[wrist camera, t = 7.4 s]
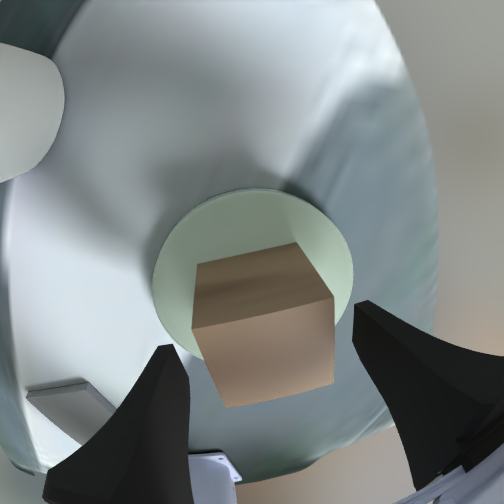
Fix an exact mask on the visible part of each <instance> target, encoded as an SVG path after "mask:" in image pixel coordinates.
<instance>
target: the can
mask: <svg viewBox="0 0 504 504" xmlns="http://www.w3.org/2000/svg"><path fill="white" fill-rule="evenodd" d="M64 102H65V96H64V87H63V82H62V78H61V75H60V72H59V70H58V68H57V66H56V65H55V64H54V63H53V62H52V61H51V60H50V59H48V58H47V57H45V56H42V55H40V54H37V53H34V52H31V51H28V50H25V49H21V48H18V47H15V46H11V45H7V44H4V43H0V183H1V182H4V181H6V180H9V179H12V178H14V177H17V176H19V175H22V174H24V173H26V172H28V171H30V170H31V169H33V168H34V167H35V166H36V165H37V164H38V163H39V162H40V161H41V160H42V159H43V158H44V156H45V155H46V154H47V152H48V151H49V149H50V147H51V146H52V144H53V142H54V140H55V137H56V135H57V132H58V130H59V127H60V123H61V119H62V115H63V110H64Z"/></svg>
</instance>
